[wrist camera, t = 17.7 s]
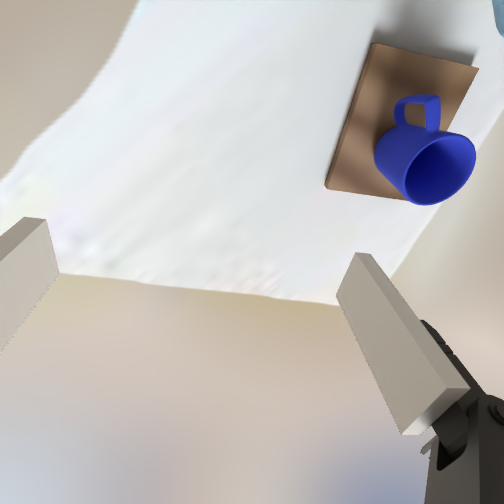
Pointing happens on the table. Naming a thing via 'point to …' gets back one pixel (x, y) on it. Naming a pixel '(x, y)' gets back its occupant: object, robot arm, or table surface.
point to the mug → (424, 155)
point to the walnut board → (391, 112)
